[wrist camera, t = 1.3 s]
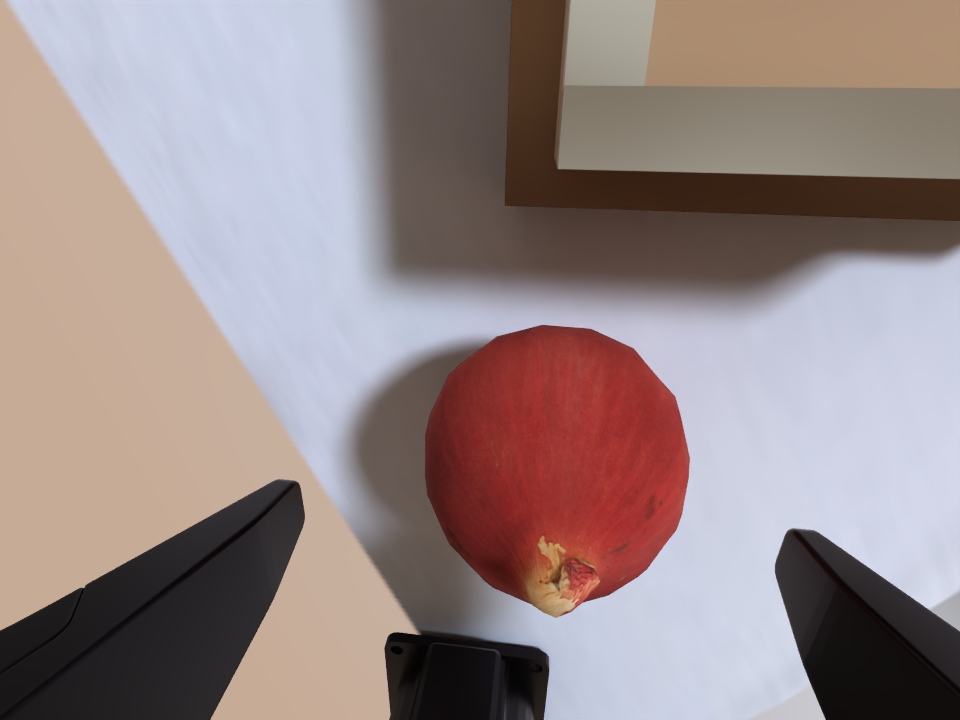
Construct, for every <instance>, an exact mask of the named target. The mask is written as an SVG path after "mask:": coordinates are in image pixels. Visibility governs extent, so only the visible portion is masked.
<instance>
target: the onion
mask: <svg viewBox="0 0 960 720" xmlns="http://www.w3.org/2000/svg"><path fill="white" fill-rule="evenodd" d="M689 462H690V457H689V452H688V448H687V443H686V439H685V434H684V429H683V425H682V420H681V416H680V412H679V409H678V405H677V402H676V398H675V396H674V395H673V394H672V393H671V391H670V390H669V389H668V388H667V387H666V386H665V385H664V384H663V383H662V382H661V380H660V379H659V378H658V377H657V376H656V375H655V374H654V373H653V371H652V370H651V369H650V368H649V366H648V365H647V364H646V363H645V362H644V360H643V359H642V358H641V357H640V356H639V354H638V353H637V352H636V351H635V350H634V348H631V347H629V346H627V345H625V344H623V343H620V342H618V341H616V340H614V339H612V338H610V337H607V336H605V335H603V334H601V333H599V332H597V331H594V330H592V329H586V328H573V327H561V326H548V325H540V326H537V327H533V328H529V329H525V330H521V331H517V332H513V333H509V334H505V335H501V336H498V337H496V338H495V339H493V340H492V341H491V342H489V343H488V344H487V345H485V346H484V347H483V348H481V349H480V350H478V351H477V352H476V353H474V354H473V355H472V356H470V357H469V358H468V359H466V360H465V361H464V362H462V363H461V364H460V365H459V366H458V367H457V368H456V369H455V370H454V371H452V372H451V373H450V374H449V376H448V378H447V380H446V382H445V384H444V386H443V388H442V391H441V393H440V395H439V397H438V399H437V401H436V403H435V405H434V407H433V409H432V411H431V414H430V417H429V421H428V425H427V430H426V434H425V478H426V487H427V495H428V497H429V499H430V502H431V504H432V506H433V509H434V511H435V513H436V515H437V518H438V520H439V522H440V525H441V527H442V529H443V531H444V533H445V536H446V538H447V540H448V542H449V544H450V545H451V546H452V547H453V548H454V549H455V550H456V551H457V552H458V553H459V555H460V556H461V557H462V558H463V559H464V560H465V561H466V562H467V563H468V564H469V565H470V566H471V567H472V568H473V569H474V570H475V571H476V572H477V573H478V574H479V575H480V576H481V578H482V579H483V580H484V581H485V582H487V583H488V584H489V585H491V586H492V587H493V588H495V589H497V590H500V591H502V592H504V593H507V594H509V595H511V596H514V597H516V598H518V599H520V600H523V601H525V602H527V603H530V604H532V605H533V606H535V607H536V608H538V609H539V610H541V611H542V612H544V613H546V614H549V615H551V616H553V617H555V618H557V617H559V616H562V615H564V614H567V613H569V612H571V611H573V610H574V609H575V608H576V607H577V606H579V605H580V604H581V603H583V602H586V601H590V600H593V599H597V598H600V597H604V596H607V595H610V594H611V593H613V592H614V591H616V590H618V589H619V588H621V587H622V586H624V585H626V584H627V583H629V582H630V581H632V580H634V579H635V578H637V577H638V576H639V575H641V574H642V573H643V572H644V571H645V570H647V568H648V567H649V566H650V564H651V563H652V561H653V560H654V559H655V557H656V556H657V555H658V553H659V552H660V550H661V549H662V548H663V546H664V545H665V544H666V542H667V541H668V540H669V539H670V537H671V536H672V535H673V533H674V532H675V531H676V529H677V527H678V524H679V521H680V518H681V515H682V511H683V505H684V500H685V494H686V489H687V483H688V478H689Z"/></svg>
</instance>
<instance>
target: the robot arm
mask: <svg viewBox="0 0 960 720" xmlns="http://www.w3.org/2000/svg"><path fill="white" fill-rule="evenodd" d="M304 520H305V513H304V506H303V500H302V493H301V488H300V485H299V483H298V482H296V481H293V480H282V479H281V480H280V479H278V480H275V481H273V482H271V483H269V484H267V485H266V486H264V487H262V488H260V489H259V490H257V491H255V492H253V493H251V494H249V495H248V496H246V497H244V498H242V499H240V500H238V501H237V502H235V503H233V504H231V505H230V506H228V507H226V508H224V509H222V510H220V511H219V512H217V513H215V514H213V515H212V516H210V517H208V518H206V519H204V520H202V521H201V522H199V523H197V524H195V525H193V526H192V527H190V528H188V529H186V530H185V531H183V532H181V533H179V534H177V535H175V536H173V537H172V538H170V539H168V540H166V541H164V542H163V543H161V544H159V545H157V546H155V547H153V548H152V549H150V550H148V551H147V552H144V553H143V554H141V555H139V556H137V557H135V558H134V559H132V560H130V561H128V562H126V563H125V564H123V565H121V566H119V567H117V568H115V569H114V570H112V571H110V572H108V573H107V574H105V575H103V576H101V577H99V578H97V579H96V580H94V581H92V582H90V583H88V584H87V585H86V586H85V588H79V589H77V590H75V591H74V592H72V593H70V594H68V595H66V596H65V597H63V598H61V599H59V600H58V601H56V602H54V603H52V604H50V605H48V606H46V607H45V608H43V609H41V610H39V611H37V612H35V613H33V614H31V615H30V616H28V617H26V618H24V619H22V620H20V621H18V622H17V623H15V624H13V625H11V626H9V627H7V628H5V629H3V630H1V631H0V720H210V719H211V717H212V715H213V713H214V711H215V710H216V708H217V706H218V704H219V702H220V700H221V698H222V696H223V694H224V692H225V691H226V689H227V687H228V685H229V683H230V681H231V679H232V677H233V675H234V674H235V672H236V670H237V668H238V666H239V664H240V662H241V660H242V658H243V656H244V655H245V653H246V651H247V649H248V647H249V645H250V643H251V641H252V640H253V638H254V636H255V634H256V632H257V630H258V628H259V626H260V624H261V622H262V620H263V619H264V617H265V615H266V613H267V611H268V609H269V607H270V605H271V603H272V601H273V599H274V597H275V594H276V592H277V590H278V587H279V585H280V582H281V580H282V578H283V575H284V572H285V570H286V568H287V565H288V563H289V560H290V558H291V555H292V553H293V550H294V548H295V545H296V543H297V540H298V538H299V535H300V533H301V530H302V528H303V524H304ZM775 574H776V579H777V582H778V585H779V589H780V592H781V595H782V598H783V602H784V605H785V608H786V612H787V615H788V618H789V621H790V625H791V628H792V631H793V635H794V638H795V641H796V644H797V648H798V651H799V654H800V657H801V660H802V663H803V666H804V668H805V671H806V673H807V676H808V678H809V681H810V683H811V686H812V688H813V690H814V692H815V695H816V698H817V700H818V702H819V705H820V707H821V709H822V712H823V714H824V717H825V719H826V720H960V631H958V630H957V629H956V628H954V627H953V626H951V625H950V624H948V623H947V622H946V621H944V620H943V619H941V618H940V617H938V616H937V615H936V614H934V613H932V612H931V611H930V610H928V609H927V608H926V607H924V606H923V605H921V604H920V603H918V602H917V601H916V600H914V599H913V598H911V597H910V596H908V595H907V594H906V593H904V592H903V591H901V590H900V589H898V588H897V587H896V586H894V585H893V584H891V583H890V582H888V581H887V580H886V579H884V578H883V577H881V576H880V575H878V574H877V573H876V572H874V571H873V570H871V569H870V568H868V567H867V566H865V565H864V564H863V563H861V562H860V561H858V560H857V559H855V558H854V557H853V556H851V555H850V554H848V553H847V552H845V551H844V550H843V549H841V548H840V547H838V546H837V545H835V544H834V543H833V542H831V541H830V540H828V539H827V538H825V537H824V536H823V535H821V534H820V533H818V532H816V531H813V530H805V529H795V528H794V529H790V530H788V531H787V532H786V534H785V537H784V540H783V542H782V545H781V548H780V551H779V554H778V557H777V560H776V563H775ZM385 659H386V669H387V680H388V691H389V701H390V712H391V715H390V719H389V720H544V712H545V703H546V694H547V685H548V677H549V657H548V655H547V654H546V653H544V652H543V651H539V650H534V649H526V648H518V647H510V646H502V645H494V644H486V643H478V642H470V641H463V640H455V639H447V638H439V637H431V636H423V635H415V634H407V633H399V632H397V633H392V634H390V635H389V636H388V638H387V642H386V645H385Z"/></svg>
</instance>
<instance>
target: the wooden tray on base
mask: <svg viewBox="0 0 960 720" xmlns="http://www.w3.org/2000/svg"><path fill="white" fill-rule="evenodd" d="M505 206H529V207H560V208H590V209H620V210H650V211H680V212H710V213H740V214H770V215H800V216H831V217H861V218H891V219H921V220H951V221H960V0H512V15H511V43H510V71H509V99H508V127H507V154H506V182H505Z"/></svg>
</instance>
